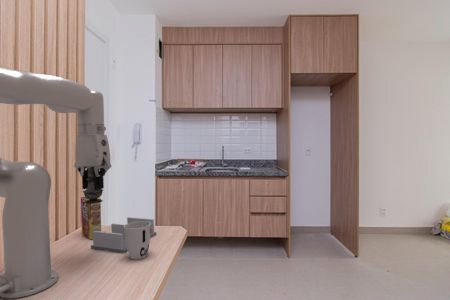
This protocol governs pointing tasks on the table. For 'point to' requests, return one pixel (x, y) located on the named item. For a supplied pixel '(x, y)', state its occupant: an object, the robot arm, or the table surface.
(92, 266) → the table surface
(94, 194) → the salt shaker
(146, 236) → the cup
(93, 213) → the candy box
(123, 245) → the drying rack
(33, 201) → the robot arm
